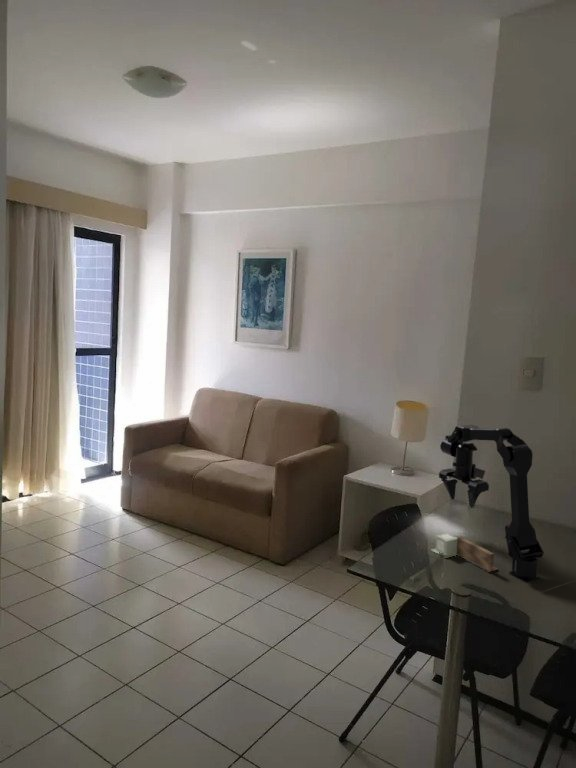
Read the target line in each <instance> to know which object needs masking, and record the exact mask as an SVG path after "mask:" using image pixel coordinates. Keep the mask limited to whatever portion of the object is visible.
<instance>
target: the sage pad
mask: <svg viewBox="0 0 576 768" xmlns="http://www.w3.org/2000/svg"><path fill="white" fill-rule="evenodd" d="M431 552H433V553H434V552H435V553H434V554H436V553H438V554H439V552H438V551H436V547H435V548H431ZM438 554H437V555H438ZM455 554H456V553H455ZM451 555H454V554H451Z"/></svg>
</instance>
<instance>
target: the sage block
mask: <svg viewBox="0 0 576 768" xmlns="http://www.w3.org/2000/svg"><path fill="white" fill-rule="evenodd" d="M458 538H459V537H456V536H455V535H452V534H451V533H449V532H446V533H442V534H438V535H435V539H436V540H435V548H436V551H438V552H440V553H443V554H444V555H446V556H447V555H451V554H455V553H457V543H458Z"/></svg>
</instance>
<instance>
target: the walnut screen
mask: <svg viewBox="0 0 576 768" xmlns="http://www.w3.org/2000/svg"><path fill="white" fill-rule="evenodd" d="M457 538H458V543H457V553H456V554H457V555H459V556H462V557H465V558H467V559H469V560H471V561H474V562H475V563H477V564H479V565H481V566H482V567H484V568H485V569H487V570H488V571H495V570H498V571H499V567H496V566H494V561H495V553H494V552H493V551H492V552H491V551H490V550H488V549H486V548H484V547H482V546H481V545H478V544H476V543H474V542H472V541H470V540H468V539H466V538H464V537H462V536H459V537H457ZM459 556H458V557H459ZM495 572H496V571H495Z"/></svg>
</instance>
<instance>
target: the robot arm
mask: <svg viewBox="0 0 576 768" xmlns="http://www.w3.org/2000/svg"><path fill="white" fill-rule="evenodd" d="M475 441H494V442H495V443H496V451H497V453H498V454H499V455H500V457H501V458H502V463H503V467H504V468H505V470H506V471H507V473H508V474H509V489H510V490H509V492H510V507H511V508H510V510H511V512H510V513H511V522H510V524H506V525H505V526H504V530H505V535H504V536H505V537H504V539H506V544H507V546H506V547H507V550H508V551H507V552H508V556H509V557H511V559H512V560H511V561H512V562H511V571H509V572H508V574H509V575H511V576H512V577H515V578H516V579H519V580H520V581H522V582H524V583H528V582H531V581H534V580H535V581H536V580H537V579H540V578H541V576H540V575H539V574H537V573H538V572H537V571H538V560H539V559H540V558H541V559H542V558H543V555H544V554H545V553H544V550H543V548H542V546H541V545H540V542H539V540H538V538H537V533H536V529H535V527H534V526H533V525H532V523H531V521H530V509H529V489H528V488H529V487H528V485H529V484H528V474H529V472H530V469H531V467H532V466H533V450H532V448H530V447H529V445H527V443H526V442H525V440H523V438H520V437H519V436H517V435H516V434H514V432H513V431H512V430H511V429H510V428H508V427H499V428H491V427H490V428H488V427H486V428H483V427H482V428H481V427H479V426H477V425H474V424H465V425H464V424H463V425H456V426H455V427H454V430H453V432H452V433H451V434H449V435H445V438H444V439H443V440H442V441H441V443H440V446H439V448H440V450H441V452H442V453H444V454H446V455H448V456H451V457H453V458H455V462H452V466H453V467H454V469H453V468H446V469H440V471H439V472H438V473H439V474H438V478H439V479H441V482H443V484H444V487H445V488H446V491H447V492H448V495H449V498H450V499H451V500H455V497H456V486H457V483H458V482H460V483H462V484H465V485H467V487H468V490H466V491H467V496H468V503H469V507H470V509H472V508H474V507H475V505H476V503H477V500H478V498H479V496H480V495H481V493H484V492H487V491H489V488H490V485H489V483H488V481H486V480H484V477H485V474H486V470H484V469H481V468H479V467H476V466H477V465H476V464H475V463H473V462H474V452H475V451H478V448H477V446H475V445H474V443H473V442H475ZM470 442H472V443H470ZM504 442H507V443H509V444H510V445H509V446H506V445H505V444H504ZM477 478H479V479H477Z"/></svg>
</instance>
